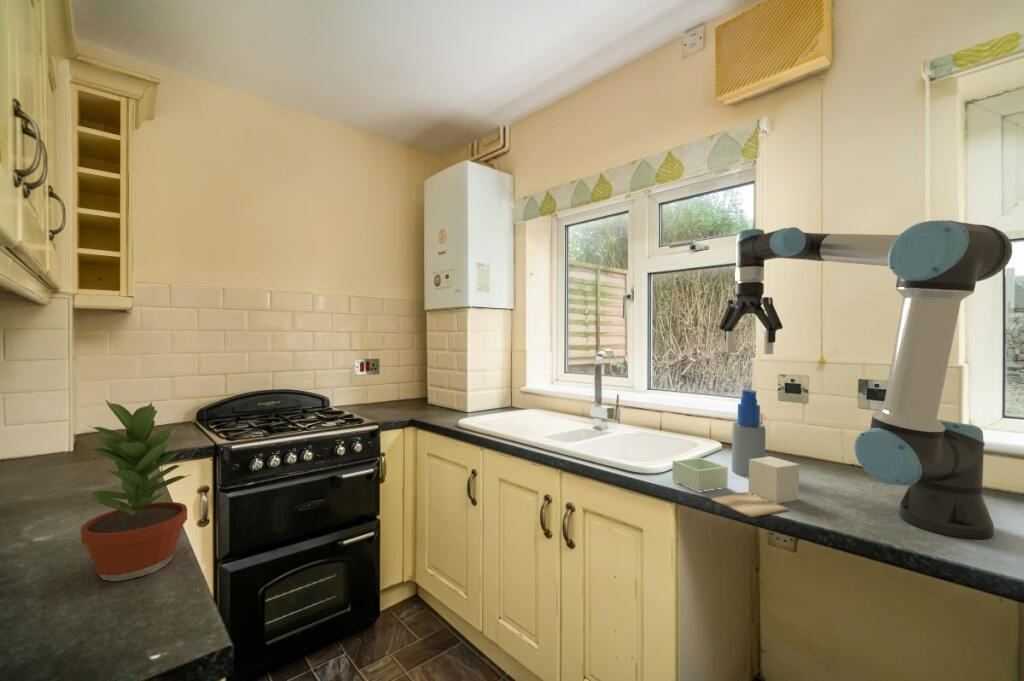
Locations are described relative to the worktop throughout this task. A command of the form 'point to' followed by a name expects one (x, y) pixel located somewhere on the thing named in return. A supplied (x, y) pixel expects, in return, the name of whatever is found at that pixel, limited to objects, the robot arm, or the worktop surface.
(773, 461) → the block
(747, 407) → the spray bottle
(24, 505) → the worktop surface
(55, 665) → the worktop surface
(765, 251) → the robot arm
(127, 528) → the potted plant
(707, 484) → the tub
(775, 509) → the mat
